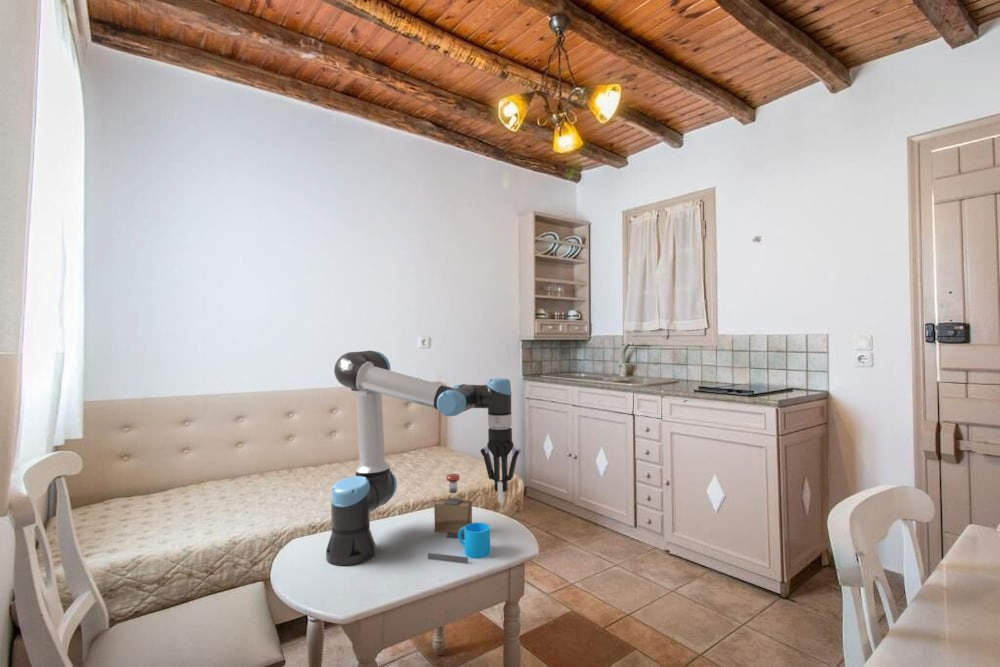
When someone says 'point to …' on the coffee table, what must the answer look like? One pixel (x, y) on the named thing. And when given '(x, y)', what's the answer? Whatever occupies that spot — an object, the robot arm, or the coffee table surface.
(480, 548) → the mug
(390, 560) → the coffee table surface
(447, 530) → the end cabinet
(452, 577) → the coffee table surface
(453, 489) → the red rounded piece
